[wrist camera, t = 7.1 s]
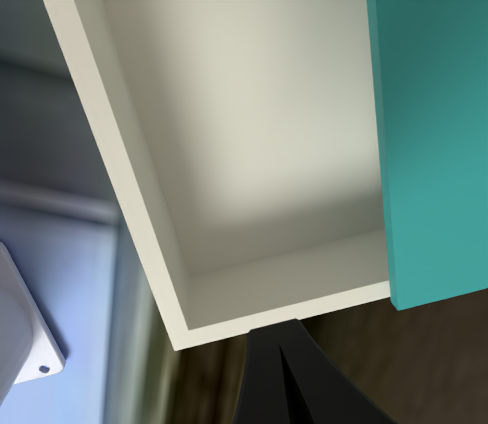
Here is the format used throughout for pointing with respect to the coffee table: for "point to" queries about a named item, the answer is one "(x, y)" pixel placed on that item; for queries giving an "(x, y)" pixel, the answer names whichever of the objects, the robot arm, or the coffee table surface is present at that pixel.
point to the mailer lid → (432, 144)
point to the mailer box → (236, 152)
